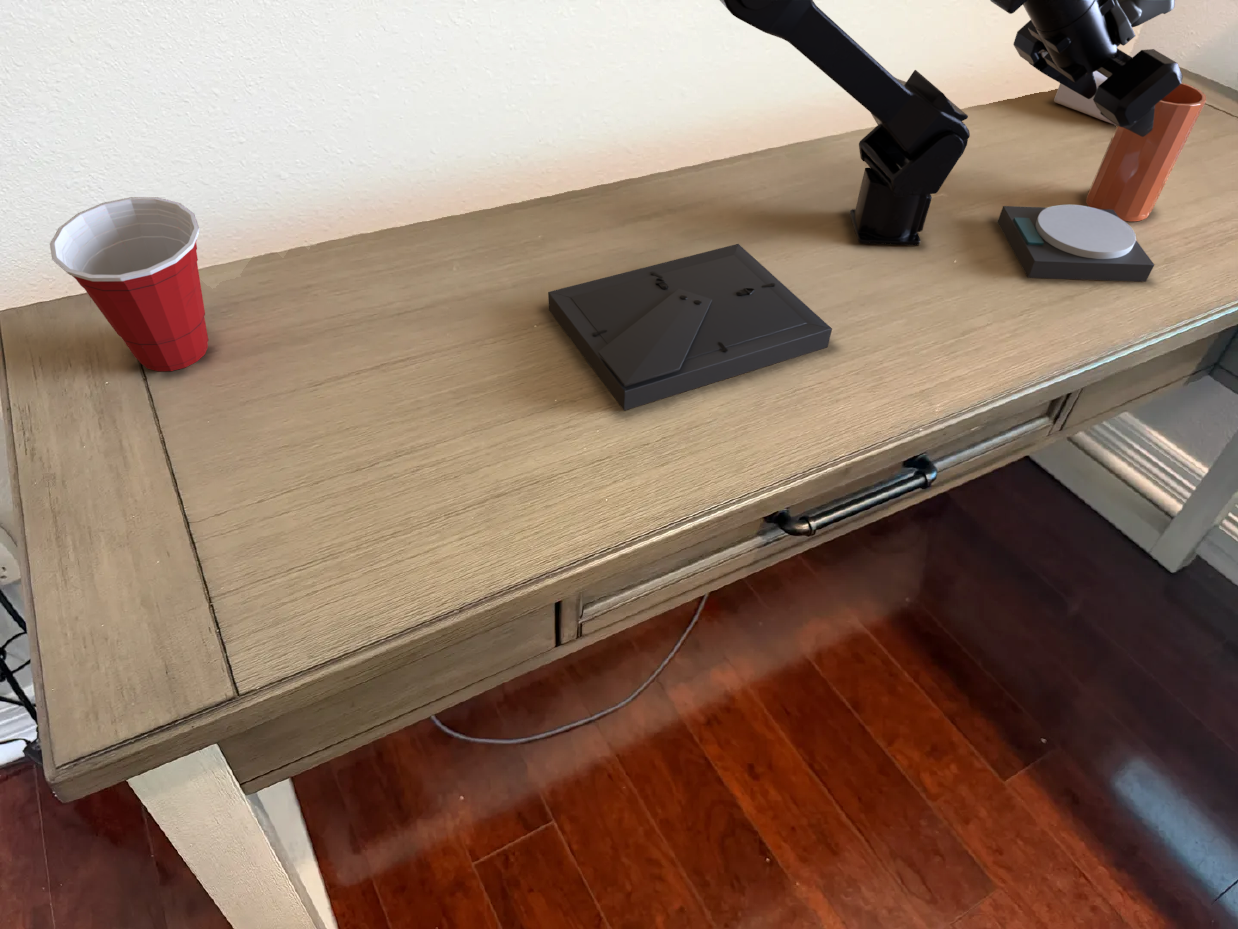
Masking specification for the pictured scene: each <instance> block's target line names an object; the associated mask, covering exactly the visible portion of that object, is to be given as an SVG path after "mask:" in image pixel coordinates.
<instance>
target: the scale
mask: <svg viewBox="0 0 1238 929" xmlns="http://www.w3.org/2000/svg"><path fill="white" fill-rule="evenodd" d="M997 225H998V227H999V229H1000V231H1001V232H1002V233H1003V236H1004V237H1005V239H1006V241H1007V242H1008V244H1009V246H1010V249H1011V250H1012V251H1013V254H1014V256H1015V257H1016V259H1017V261H1018V263H1019V264H1020V266H1021V268H1022V270H1023V271H1024V273H1025V275H1026V277H1027V278H1028V279H1048V280H1049V279H1051V280H1055V279H1056V280H1083V281H1085V280H1086V281H1113V282H1143V283H1144V282H1145V283H1146V282H1147V280H1148V279H1149V276H1150V274H1151V273H1152V271H1153V269H1154V267H1155V263H1154V262H1153V260H1152V259H1151V258H1150V256H1149V255H1148V254H1147V253H1146V251H1145V250H1144V249H1143V247H1142V246H1141V245H1140V244H1139V242H1138V241H1137V235H1136V232H1135V231H1134V229H1133V228H1132V227H1131V226H1130V224H1129V223H1127V221H1123V220H1122V219H1120V218H1119V217H1118V215H1117V214H1116V213H1115V211H1114V210H1111V209H1096V208H1092V207H1089V206H1088V205H1081V204H1071V203H1070V204H1069V203H1068V204H1067V203H1066V204H1056V205H1051V206H1049V207H1048V206H1047V207H1045V206H1020V205H1019V206H1017V205H1002V208H1001V211H1000V213H999V216H998V219H997Z"/></svg>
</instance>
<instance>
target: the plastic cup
mask: <svg viewBox="0 0 1238 929" xmlns="http://www.w3.org/2000/svg"><path fill="white" fill-rule="evenodd" d="M199 234H200V225H199V222H198V219H197V216H196V214H195V212H194V211H192V210H191V209H189V208H188V207H187V206H185V205H184V204H182V203H181V202H178V201H175V200H170V199H166V198H162V197H158V196H155V197H154V196H130V197H124V198H120V199H115V200H109V201H105V202H102V203H98V204H96V205H94V206H91V207H90V208H87V209H85V210H82V211H79V212H77V213H76V214H75V215H74V216H73V217H71V218H70V219H68V220H67V221H65V222H64V223H63V224H62V225H60V226H59V227H58V228H57V230H56V232H55V234H54V235H53V237H52V238H51V240H50V242H49V250H50V256H51V260H52V261H53V262H54V263H55V264H56V265H58V267H60V268H61V269H62V270H63V271H64V272H65V273H66V274H68V275H69V276H71V277H73V279H75V280H76V281H77V283H78V284H79V286H80V287H81V288H83V289H84V291H85V292H86V293H87V295H88V296H89V297H90V299H91V301H93V303H94V305H96V307H97V308H98V310H99V311H100V313H101V314H102V315H103V316H104V318H105V320H106V321H107V322H108V324H109V325H110V327H111V328H112V329H113V330H114V332H115V333H116V335H117V336H119V337H120V338H121V339H122V341H123V342H124V344H125V345H126V347H127V349H128V350H129V351H130V353H131V354H132V356H133V357H134V358H135V359H136V360H137V361H138V362H139V363H140V364H141V365H142V366H143V367H145V368H146V369H148V370H151V371H155V372H173V371H177V370H182V369H185V368H187V367H189V366H191V365H193V364H195V363H197V362H199V361H200V359H201V358H203V357H204V356H205V355H206V353H207V350H208V348H209V345H208V343H209V336H208V330H207V324H206V318H205V316H206V310H205V304H204V298H203V292H202V285H201V284H202V283H201V279H200V272H199V266H198V261H199V258H198V252H197V250H198V246H197V241H198V237H199Z"/></svg>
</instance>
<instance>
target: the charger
mask: <svg viewBox="0 0 1238 929" xmlns="http://www.w3.org/2000/svg"><path fill="white" fill-rule="evenodd" d="M1093 74H1094V77H1095V81H1096V85H1097V88H1098V86H1099V85H1100V84H1102V83H1103V82H1104V81H1105V80H1106V79H1107V77H1105V76H1104V75H1102V74H1101V73H1099V72H1098V71H1095V72H1093ZM1094 96H1095V95H1094ZM1094 96H1093V97H1092V98H1091V99H1087V98H1085V97H1083V96H1082V95H1080V94H1078V93H1076V92H1075V91H1073V90H1071V89H1070V88H1068V87H1066V86H1064V85H1063V84H1061V83H1059V85H1058V87H1057V91H1056V93H1055V96H1054V99H1053V101H1054V103H1056V104H1059V105H1060V106H1061V105H1062V106H1064V107H1066V108H1068V109H1071V110H1073V111H1077V112H1080V113H1082V114H1085V115H1088V116H1090V117H1092V118H1096V119H1097V120H1101V121H1104V122H1106V123H1109V124H1111V125H1113V126H1116V125H1115V124H1114V123H1112V122H1111V121H1110V120H1108V119H1107V118H1105V117H1104V116H1103V115H1101V114H1100V112H1101V111H1100V110H1099V109H1098V108H1097V107H1096V105H1095V103H1094V101H1093V98H1094Z"/></svg>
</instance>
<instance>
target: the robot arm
mask: <svg viewBox="0 0 1238 929" xmlns="http://www.w3.org/2000/svg"><path fill="white" fill-rule="evenodd" d="M719 1H720V2H721V4H722V5H723V6H724V7H725V8H726V9H727V10H728V12H729V13H730V14H731V15H732V16H733V17H735V18H737V19H739V20H740V21H742V22H744V23H746V24H748V25H749V26H752V27H753V28H755V29H757V30H759V31H761V32H763V33H764V34H768V35H771V36H774V37H775V38H779V39H781V40H784V41H785V42H787V43H789V44H790V45H791V46H792V47H794V48H795V49H796V50H797V51H798V52H800V54H801V55H803V57H805V58H806V59H807V60H809V61H810V62H811V63H812V64H813V65H814V66H816V67H817V68H818V69H819V70H820V71H821V72H823V73H824V74H825V75H826V76H828V78H830V79H831V80H832V81H833V82H835V84H836V85H838V86H839V87H840V88H841V89H843V90H844V91H845V92H846V93H847V94H848V95H849V96H850V97H852V98H853V99H854V100H855V101H857V102H858V103H859V104H860V105H861V106H863V107H864V109H866V110H867V111H868V112H870V114H871V116H872V118H873V120H874V122H875V123H876V126H875V127H873V129H872V130H871V131H870V132H868V133H867V134H866V135H865V136H864V137H862V139H860V141H859V142H858V150H859V157H860V160H861V161H862V162H863V163H865V164H866V165H867V167H864V170H863V175H862V179H861V183H860V188H859V192H858V196H857V200H856V205H855V208H852V209H850V210H849V213H848V214H849V217H850V221H851V224H852V227H853V230H854V233H855V236H856V239H857V241H858V243H859V244H863V245H888V246H889V245H893V246H919V245H921V241H922V239H921V236H920V235H919V233H921V232H922V231H923V230H924V227H925V223H926V219H927V216H928V213H929V209H930V206H931V203H932V199H933V197H932V195H936V194H938V192H940V189H941V188H942V187H943V184H944V183H945V181H946V179H947V178H948V177H949V175H950V174H951V172H952V170H953V169H954V168H955V166H956V164H957V163H958V161H959V160H960V159H961V157H962V155H963V154H964V153H965V150H966V148H967V146H968V143H969V142H968V140H969V138H970V137H971V135H970V130H969V128H968V126H967V125H966V124H965V122H963V121H965V120H967V119H968V118H969V115H968V114H967V113H965V111H963V110H962V109H961V108H960V107H958V106H957V105H956V104H955V103H954V102H953V101H951V99H949V97H947V96H946V95H945V93H944V92H942V90H940V89H939V88H938V87H937V86H935V85H934V84H933V83H932V82H931V81H930V80H928V79H927V78H926V77H925V76H923V74H921V73H920V72H919V71H918V70H917V69H914V70H913V72H912V73H911V75H910V76H909V77H908V79H907V81H905V80H903V79H899V78H897V77H896V76H894V75H892V74H891V73H890V72H889V70H887V69H886V68H885V67H884V66H883V65H881V63H879V61H877V60H876V59H875V58H874V57H873V56H872V55H871V54H870V53H868V52H867V51H866V49H864V48H863V47H862V46H861V45H860V44H859V43H858V42H856V40H854V38H852V37H851V36H850V35H849V34H848V33H847V32H846V31H845V30H844V29H842V28H841V27H840V26H839V25H838V24H837V23H836V22H835V21H834V20H833V19H832V18H831V17H830V16H828V15H827V14H826V13H825V12H824V11H823V10H822V9H821V8H820V7H819V6H817V5H816V3H815V2H814V0H719ZM989 1H990V2H991V3H992V4H994V5H995V6H997V7H998V8H1000V9H1001V10H1003V11H1004V12H1006V13H1008V14H1009V15H1012V14H1014V13H1016V11H1018V9H1020V8H1021V7H1023V8H1024V11H1025V12H1026V14H1027V15H1028V18H1029V19H1030V20H1029V21H1028V22H1026V23H1025V24H1024V25H1022V27H1021V28H1019V29H1018V30H1017V31H1016V35H1015V38H1014V41H1013V43H1012V45H1013V47H1014V48H1015V50H1016V53H1017V54H1018V55H1019V57H1020V58H1022V59H1023V60H1025V61H1026V62H1028V64H1029V65H1030V66H1031V67H1033V68H1034V69H1036V70H1037V71H1038V72H1040V73H1042V74H1043V75H1045V76H1047V77H1049V78H1050V79H1052V80H1054V81H1056V82H1058V83H1059V84H1060V83H1061V84H1063V85H1064V86H1066V87H1068V88H1070V89H1071V90H1073V91H1075V92H1076V93H1078V94H1080V95H1082V96H1083V97H1085V98H1087V99H1091V98H1092V97H1093V96H1094V95H1095V96H1094V98H1093V101H1094V103H1095V105H1096V107H1097V108H1098V109H1099V110H1100V111H1101V112H1100V114H1101V115H1103V116H1104V117H1105V118H1107V119H1108V120H1110V121H1111V122H1112V123H1114V124H1115V125H1114V124H1113V125H1114V126H1116V127H1117V126H1120V127H1123V128H1125V129H1127V130H1129V131H1131V132H1133V133H1135V134H1137V135H1139V136H1141V137H1144V136H1146V135H1147V134H1148V133H1149V132H1151V131H1152V129H1153V122H1154V111H1155V105H1156V104H1157V103H1158V102H1159V101H1161V100H1162V99H1163V98H1164V97H1165V96H1167V95H1168V94H1169V93H1170V92H1172V91H1173V90H1174V89H1175V88H1177V87H1178V86H1179V85H1180V84H1181V83H1183V78H1184V76H1183V73H1182V71H1181V69H1180V65H1179V64H1178V62H1177V61H1176V60H1173V59H1171V58H1170V57H1168V56H1166V55H1164V54H1163V53H1161V52H1160V51H1158V50H1156V49H1155V48H1150V49H1149V48H1147V49H1140V50H1139V51H1138V52H1136V54H1135V55H1133V56H1131V55H1130V54H1127V53H1126V52H1124V51H1123V50H1121V49H1119V48H1118V47H1120V46H1126V45H1127V44H1128V43H1129V42H1130V41H1131V40H1133V39H1134V38H1135V37H1136V33H1135V30H1134V29H1133V28H1136V27H1138V26H1140V25H1142V24H1144V23H1146V22H1148V21H1151V20H1152V19H1154V18H1157V17H1159V16H1160V15H1162V14H1163V15H1166V14H1168V13H1170V12H1171V11H1173V9H1174V8H1175V5H1176V0H989ZM1095 71H1098V72H1099V73H1101V74H1102V75H1104V76H1105V77H1107V79H1106V80H1105V81H1104V82H1103V83H1102V84H1100V85H1099V86H1098V88H1097V85H1096V81H1095V77H1094V74H1093V72H1095Z"/></svg>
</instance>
